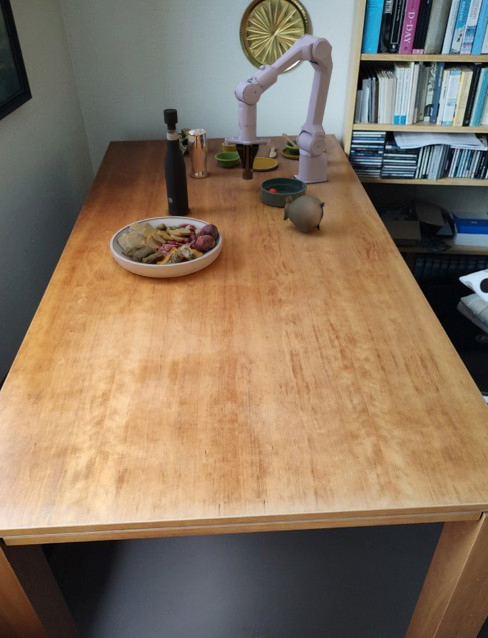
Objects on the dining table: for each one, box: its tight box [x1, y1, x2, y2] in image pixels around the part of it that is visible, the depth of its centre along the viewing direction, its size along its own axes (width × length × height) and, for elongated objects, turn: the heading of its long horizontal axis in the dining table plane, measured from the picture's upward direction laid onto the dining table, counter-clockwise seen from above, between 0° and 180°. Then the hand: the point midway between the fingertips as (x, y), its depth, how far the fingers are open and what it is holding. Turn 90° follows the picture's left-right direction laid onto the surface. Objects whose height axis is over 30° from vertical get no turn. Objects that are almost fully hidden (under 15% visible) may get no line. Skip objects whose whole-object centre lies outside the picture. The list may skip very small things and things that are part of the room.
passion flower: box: [177, 127, 193, 156], centre depth 215 cm, size 11×11×12 cm
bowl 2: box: [259, 176, 308, 208], centre depth 181 cm, size 15×15×4 cm
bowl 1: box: [109, 215, 223, 279], centre depth 149 cm, size 30×30×8 cm
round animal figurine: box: [282, 194, 326, 233], centre depth 161 cm, size 10×12×10 cm
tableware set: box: [214, 133, 327, 172], centre depth 210 cm, size 41×28×6 cm
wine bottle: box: [163, 108, 190, 217], centre depth 164 cm, size 6×6×30 cm
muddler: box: [241, 145, 254, 181], centre depth 181 cm, size 4×4×11 cm
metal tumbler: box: [187, 128, 209, 179], centre depth 195 cm, size 7×7×15 cm
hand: (247, 167), depth 182 cm, fingers closed on muddler, 2 cm apart
